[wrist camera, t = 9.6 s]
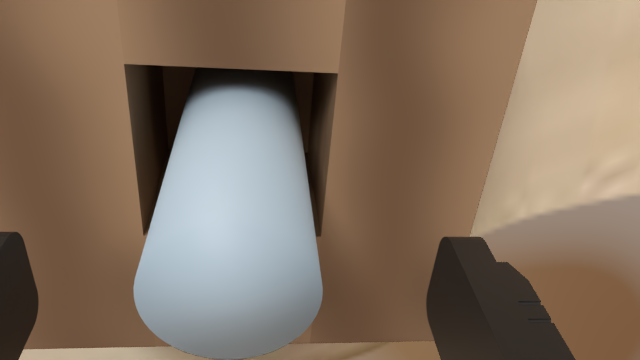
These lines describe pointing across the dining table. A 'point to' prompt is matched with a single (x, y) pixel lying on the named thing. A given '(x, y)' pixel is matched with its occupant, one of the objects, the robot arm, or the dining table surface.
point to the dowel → (233, 222)
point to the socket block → (316, 127)
